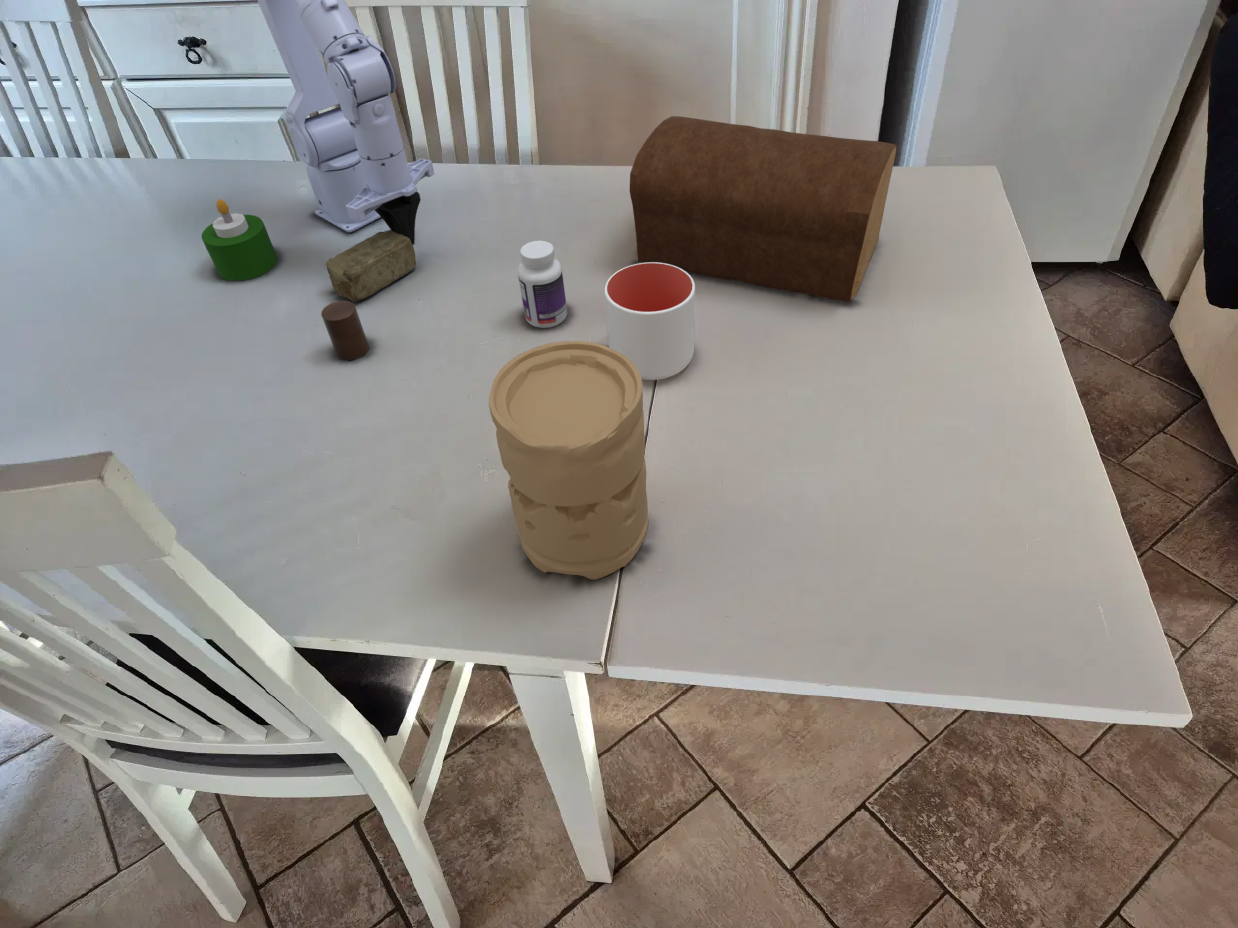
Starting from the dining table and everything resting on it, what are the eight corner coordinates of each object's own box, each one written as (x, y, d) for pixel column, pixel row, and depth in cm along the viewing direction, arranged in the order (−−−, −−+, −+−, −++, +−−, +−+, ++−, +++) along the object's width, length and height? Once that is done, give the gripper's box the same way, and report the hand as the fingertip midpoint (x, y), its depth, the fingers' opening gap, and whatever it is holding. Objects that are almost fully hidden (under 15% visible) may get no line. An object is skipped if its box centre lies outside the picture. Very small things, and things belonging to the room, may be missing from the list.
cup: (703, 339, 98) (705, 268, 91) (680, 392, 92) (680, 319, 85) (625, 327, 101) (621, 256, 94) (597, 377, 95) (591, 305, 87)
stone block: (422, 268, 113) (413, 236, 109) (356, 308, 107) (345, 276, 103) (395, 255, 116) (385, 223, 112) (329, 294, 110) (317, 262, 106)
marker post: (330, 352, 101) (314, 312, 96) (356, 336, 103) (342, 296, 98) (348, 364, 99) (333, 324, 94) (375, 348, 101) (361, 308, 96)
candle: (231, 287, 112) (201, 222, 105) (208, 264, 116) (177, 200, 109) (287, 264, 115) (261, 199, 108) (262, 242, 120) (236, 178, 113)
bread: (677, 204, 121) (677, 95, 110) (880, 238, 112) (903, 122, 100) (630, 268, 110) (624, 154, 98) (851, 311, 101) (874, 190, 89)
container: (655, 574, 75) (650, 434, 62) (519, 587, 74) (485, 449, 61) (641, 475, 83) (634, 334, 70) (519, 487, 83) (490, 347, 70)
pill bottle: (574, 309, 104) (567, 241, 97) (555, 333, 101) (546, 265, 94) (538, 300, 106) (528, 233, 99) (517, 323, 103) (505, 256, 96)
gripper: (363, 181, 98) (392, 277, 108) (441, 133, 107) (461, 226, 116) (322, 169, 101) (354, 264, 111) (402, 123, 109) (424, 215, 119)
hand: (406, 244), depth 114 cm, fingers closed
